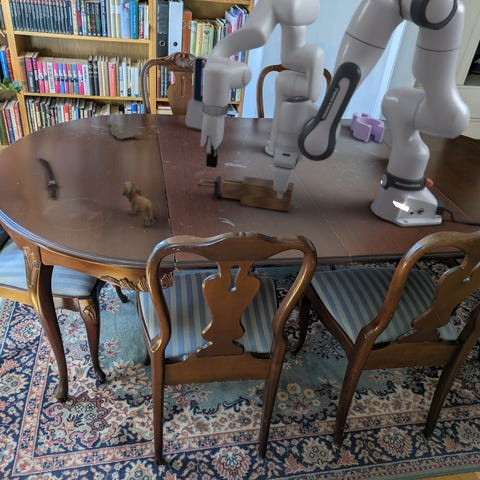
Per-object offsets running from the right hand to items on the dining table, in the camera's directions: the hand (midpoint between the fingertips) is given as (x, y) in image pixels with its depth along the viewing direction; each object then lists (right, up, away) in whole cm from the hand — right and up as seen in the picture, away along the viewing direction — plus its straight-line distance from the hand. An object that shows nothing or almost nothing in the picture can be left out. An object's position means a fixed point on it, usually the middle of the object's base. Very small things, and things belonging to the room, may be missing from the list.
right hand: (281, 192), depth 146 cm
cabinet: (-5, -3, +3) cm, 6 cm away
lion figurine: (-42, -8, -10) cm, 44 cm away
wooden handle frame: (-16, -1, +5) cm, 17 cm away
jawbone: (-60, +29, +45) cm, 81 cm away
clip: (+45, +34, +70) cm, 90 cm away
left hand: (-22, +9, +1) cm, 23 cm away
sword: (-75, +5, +5) cm, 76 cm away
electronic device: (-30, +34, +57) cm, 72 cm away
